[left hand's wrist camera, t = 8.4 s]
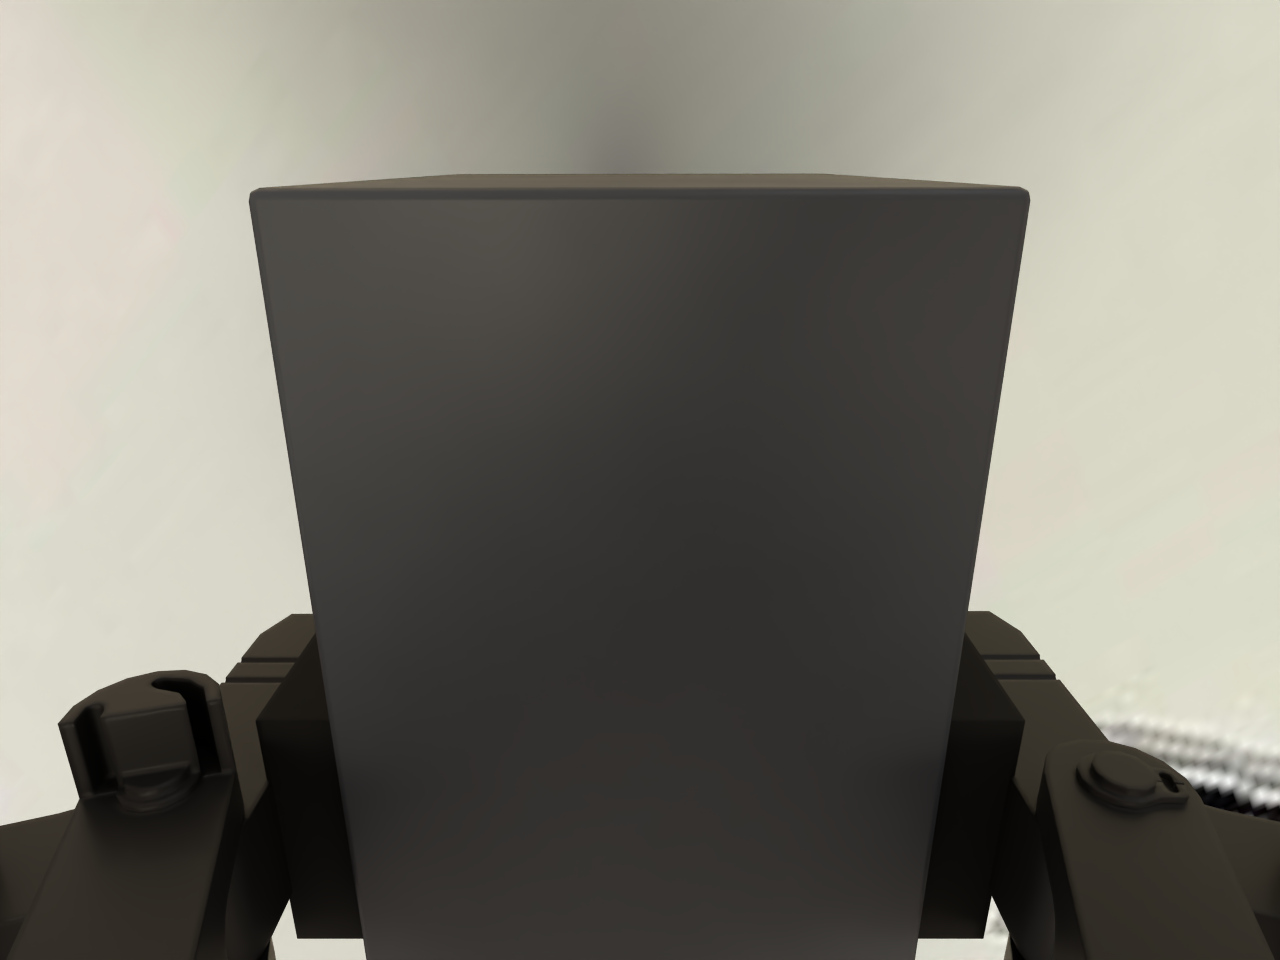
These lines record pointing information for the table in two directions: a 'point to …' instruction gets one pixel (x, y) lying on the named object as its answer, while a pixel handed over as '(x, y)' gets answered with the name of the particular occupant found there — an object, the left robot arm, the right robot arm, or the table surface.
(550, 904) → the bar
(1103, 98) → the table surface
